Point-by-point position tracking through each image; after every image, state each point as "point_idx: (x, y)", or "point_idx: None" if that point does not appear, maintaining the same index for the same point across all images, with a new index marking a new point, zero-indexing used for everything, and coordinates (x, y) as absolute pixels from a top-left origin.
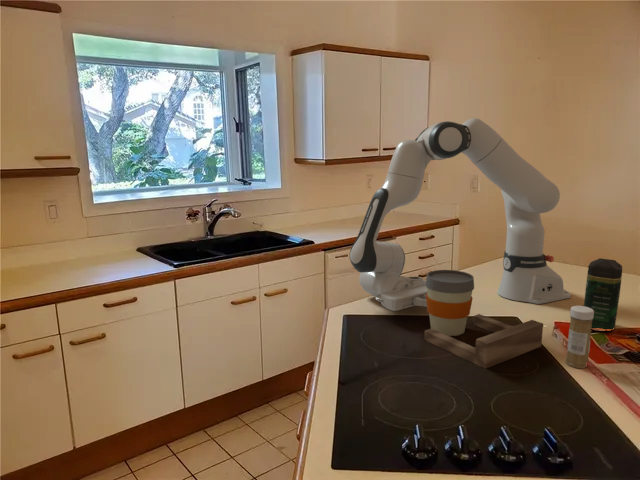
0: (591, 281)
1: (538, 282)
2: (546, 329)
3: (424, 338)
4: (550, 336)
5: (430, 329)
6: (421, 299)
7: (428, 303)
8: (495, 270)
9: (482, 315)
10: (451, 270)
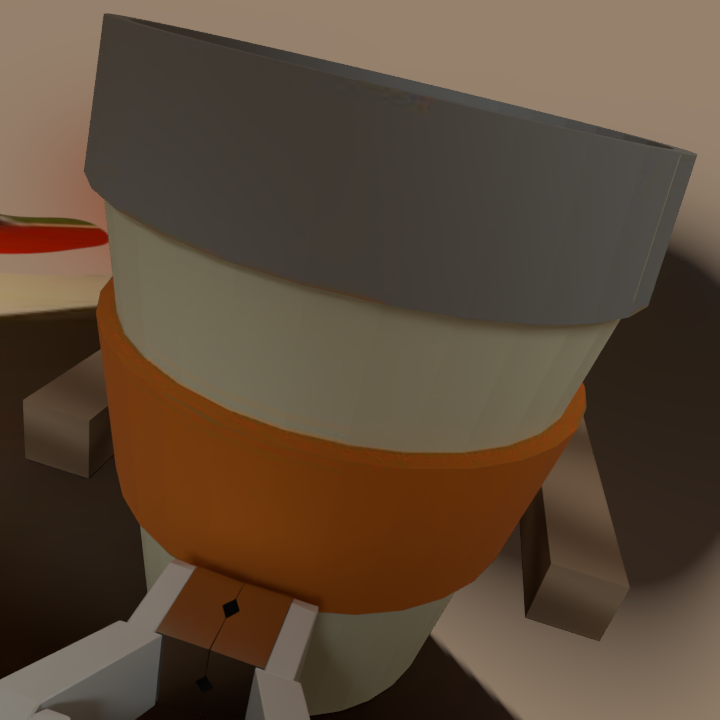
0: None
1: None
2: (16, 277)
3: (603, 632)
4: (102, 277)
5: (572, 563)
6: (307, 715)
7: (546, 475)
8: None
9: (50, 385)
10: (130, 20)
